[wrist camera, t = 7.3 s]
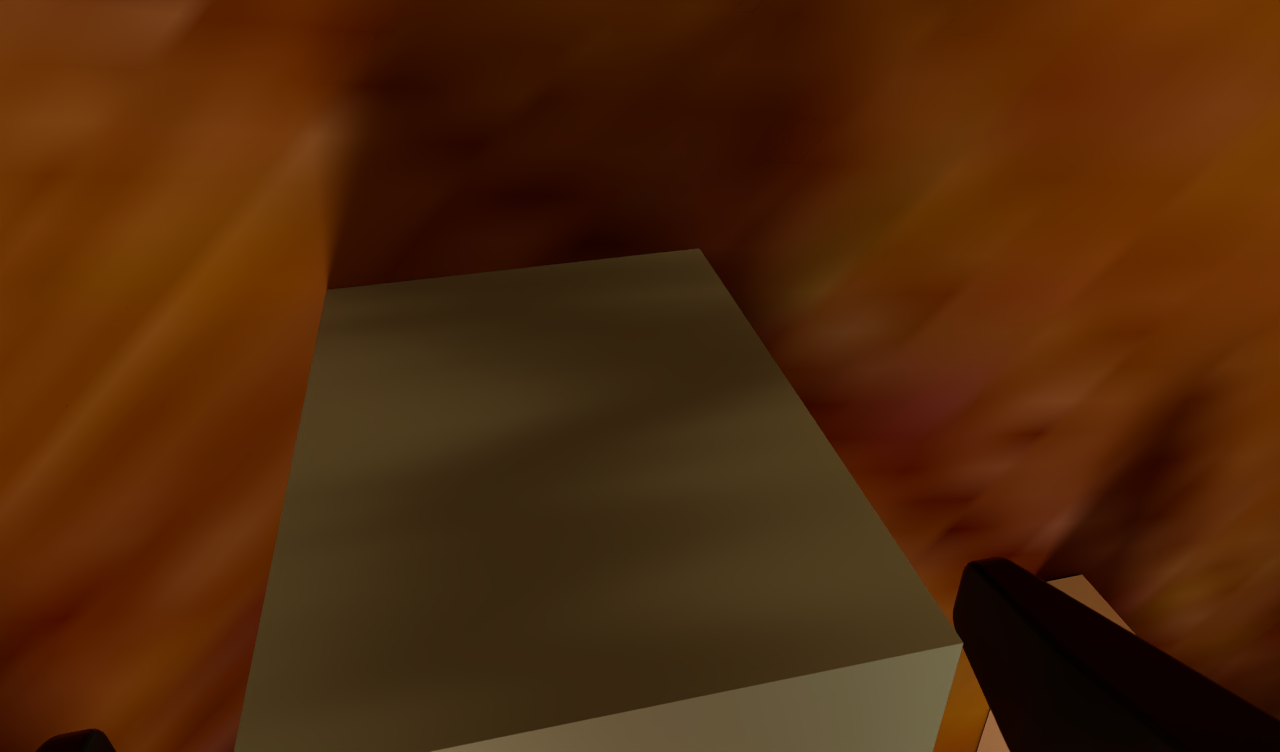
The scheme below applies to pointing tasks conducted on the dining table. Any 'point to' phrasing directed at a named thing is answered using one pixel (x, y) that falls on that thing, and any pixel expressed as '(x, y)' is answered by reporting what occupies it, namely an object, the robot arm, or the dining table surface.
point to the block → (579, 535)
